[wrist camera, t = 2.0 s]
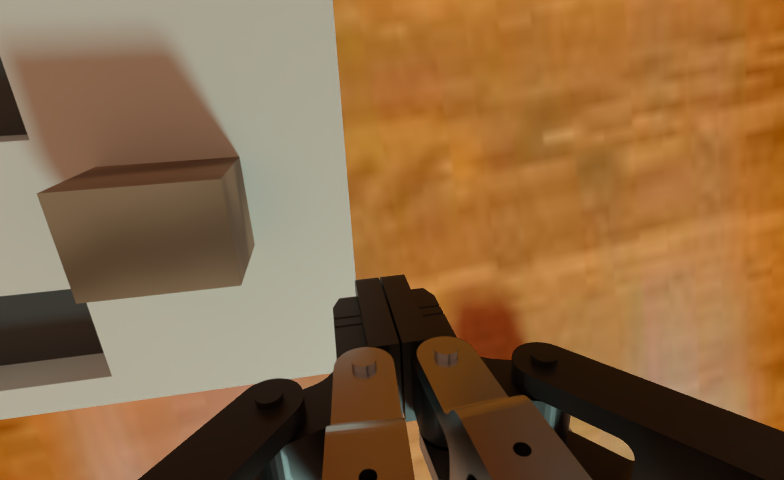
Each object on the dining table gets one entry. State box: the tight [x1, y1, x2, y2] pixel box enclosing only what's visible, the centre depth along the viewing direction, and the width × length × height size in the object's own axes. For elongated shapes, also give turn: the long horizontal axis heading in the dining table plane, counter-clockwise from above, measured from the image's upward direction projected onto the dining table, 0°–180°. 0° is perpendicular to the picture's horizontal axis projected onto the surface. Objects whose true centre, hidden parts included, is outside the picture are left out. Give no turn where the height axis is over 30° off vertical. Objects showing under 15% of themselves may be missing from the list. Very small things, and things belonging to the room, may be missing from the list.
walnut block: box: [37, 157, 255, 304], centre depth 21 cm, size 5×7×5 cm
